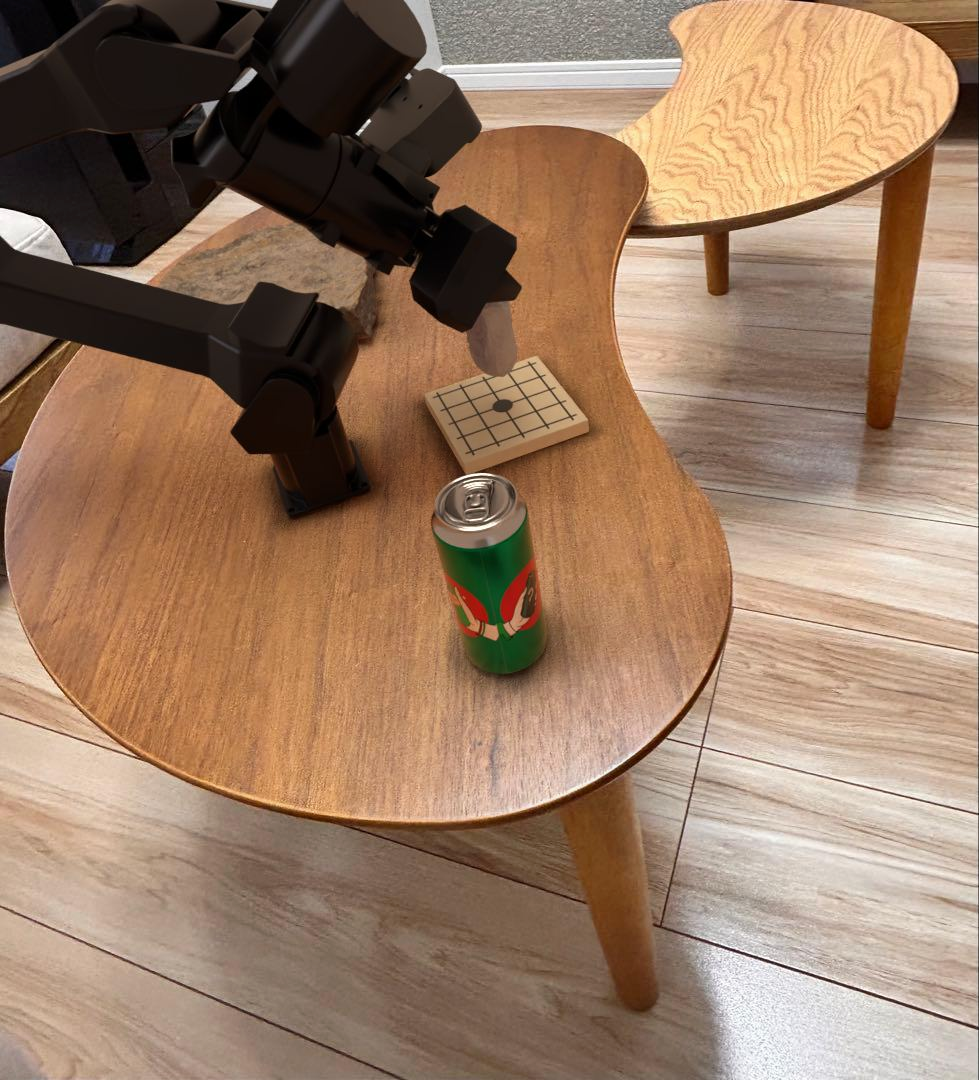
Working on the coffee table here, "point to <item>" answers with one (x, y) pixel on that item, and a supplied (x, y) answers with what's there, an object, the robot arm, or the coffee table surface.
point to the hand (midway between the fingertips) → (499, 280)
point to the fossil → (493, 340)
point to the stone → (281, 272)
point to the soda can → (490, 571)
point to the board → (505, 415)
